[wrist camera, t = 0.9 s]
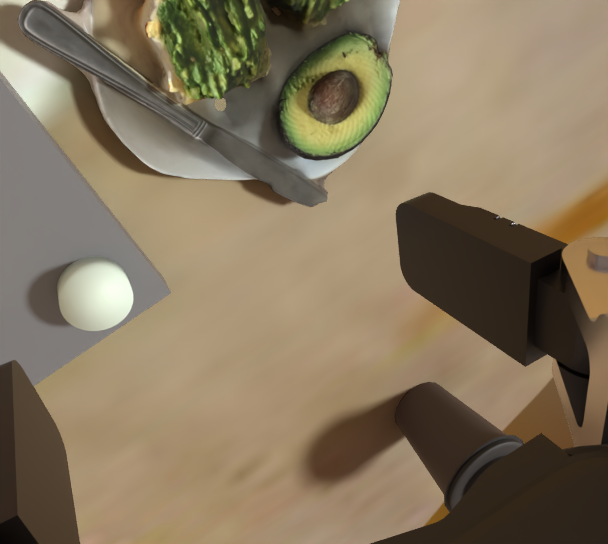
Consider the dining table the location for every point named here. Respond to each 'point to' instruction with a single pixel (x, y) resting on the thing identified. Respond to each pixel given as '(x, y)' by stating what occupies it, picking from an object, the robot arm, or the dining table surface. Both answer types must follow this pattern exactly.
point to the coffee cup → (451, 439)
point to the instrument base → (59, 252)
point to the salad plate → (231, 81)
